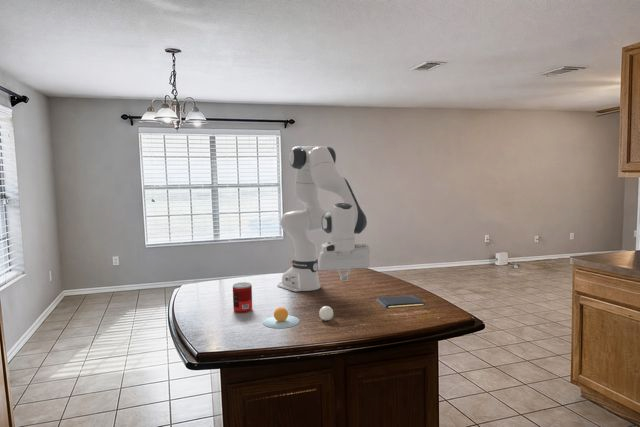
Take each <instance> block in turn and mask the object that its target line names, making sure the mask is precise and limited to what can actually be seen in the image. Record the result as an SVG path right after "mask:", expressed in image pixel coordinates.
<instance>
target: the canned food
mask: <svg viewBox="0 0 640 427" xmlns="http://www.w3.org/2000/svg"><path fill="white" fill-rule="evenodd" d="M252 288H253V286H252V283H250V282H247V281H246V282H238V283H234V284H233V285H232V299H233V300H232V302H233V307H232V308H233V311H234V312H235V313H237V314H238V313H239V314H245V313H249V312H251V311H252V309H253V289H252Z"/></svg>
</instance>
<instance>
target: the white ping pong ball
mask: <svg viewBox="0 0 640 427" xmlns="http://www.w3.org/2000/svg"><path fill="white" fill-rule="evenodd" d="M318 315H319V318H321V320H323V321H330V320H331V319H332V318H333V317H334V310H333V308H332V307H330V306H328V305H324V306H322V307H321V308H320V309H319V313H318Z"/></svg>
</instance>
